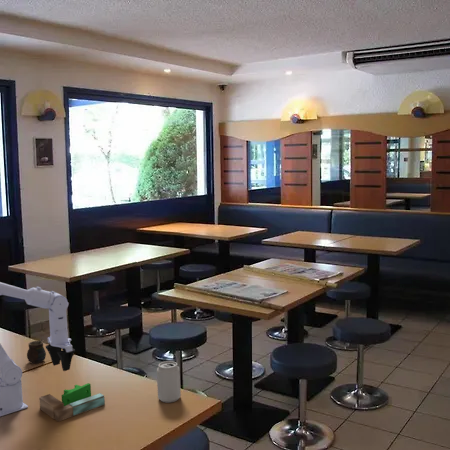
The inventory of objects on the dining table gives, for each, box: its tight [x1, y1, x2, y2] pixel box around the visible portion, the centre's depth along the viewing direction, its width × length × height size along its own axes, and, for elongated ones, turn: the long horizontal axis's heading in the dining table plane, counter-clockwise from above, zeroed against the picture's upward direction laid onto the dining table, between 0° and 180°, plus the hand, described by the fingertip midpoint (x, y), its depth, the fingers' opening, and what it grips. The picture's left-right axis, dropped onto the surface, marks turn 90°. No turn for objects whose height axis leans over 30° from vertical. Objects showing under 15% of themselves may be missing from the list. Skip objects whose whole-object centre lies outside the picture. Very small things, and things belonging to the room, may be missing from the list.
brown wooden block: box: [39, 393, 64, 420], centre depth 173 cm, size 4×10×4 cm, turn 42°
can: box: [156, 360, 182, 404], centre depth 180 cm, size 8×8×12 cm
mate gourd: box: [26, 339, 47, 365], centre depth 219 cm, size 7×8×10 cm
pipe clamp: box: [61, 383, 92, 406], centre depth 181 cm, size 11×4×5 cm, turn 145°
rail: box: [54, 393, 106, 422], centre depth 173 cm, size 16×3×3 cm, turn 132°
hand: (61, 367), depth 186 cm, fingers open, 7 cm apart
